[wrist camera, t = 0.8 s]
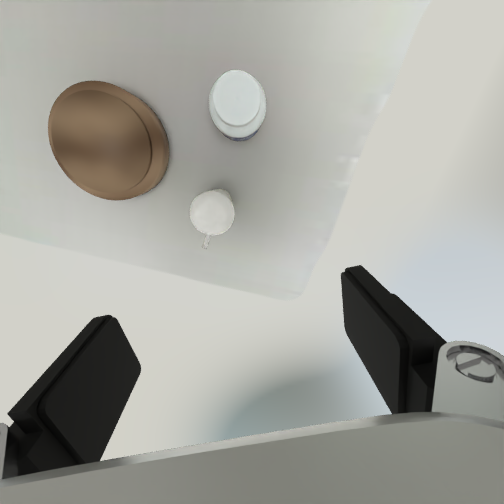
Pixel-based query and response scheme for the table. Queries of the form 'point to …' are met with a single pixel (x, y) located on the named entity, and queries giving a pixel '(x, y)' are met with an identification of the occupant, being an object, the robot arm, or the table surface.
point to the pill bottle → (237, 105)
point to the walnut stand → (107, 140)
